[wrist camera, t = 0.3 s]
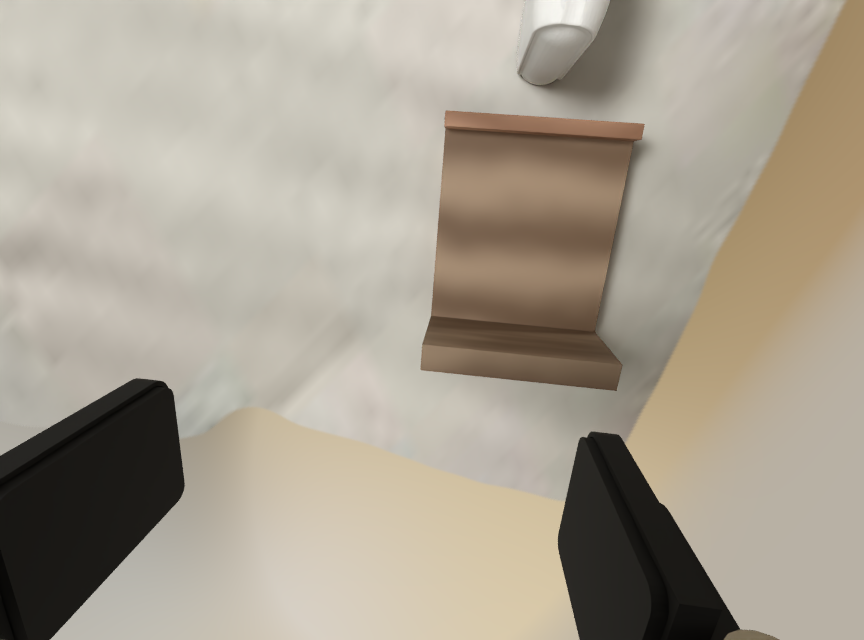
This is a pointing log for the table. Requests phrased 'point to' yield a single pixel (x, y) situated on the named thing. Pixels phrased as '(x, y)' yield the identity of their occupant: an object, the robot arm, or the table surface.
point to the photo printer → (556, 36)
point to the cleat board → (526, 247)
